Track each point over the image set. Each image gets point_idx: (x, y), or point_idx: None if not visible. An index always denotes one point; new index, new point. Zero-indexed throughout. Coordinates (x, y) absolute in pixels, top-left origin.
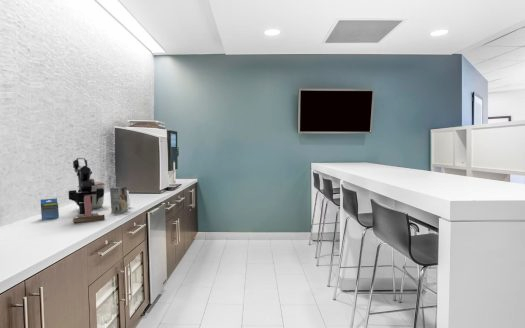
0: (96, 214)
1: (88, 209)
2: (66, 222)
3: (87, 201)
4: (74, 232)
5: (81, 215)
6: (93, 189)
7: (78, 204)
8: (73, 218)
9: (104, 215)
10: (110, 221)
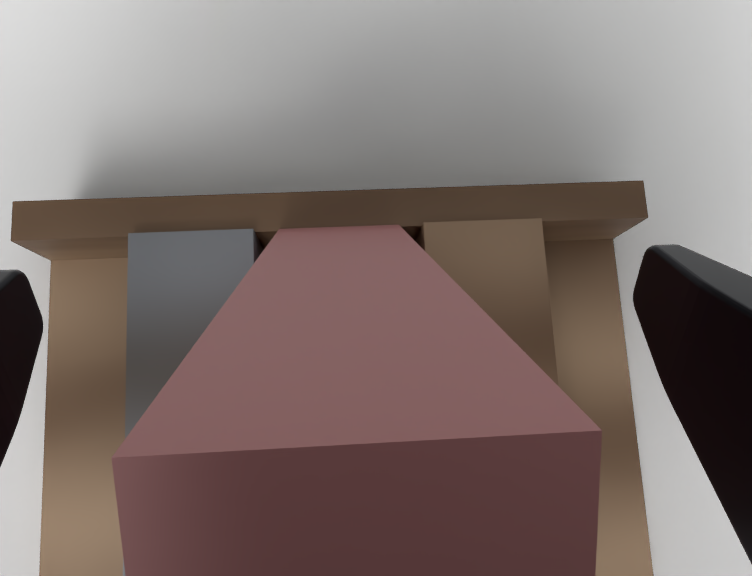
0: (173, 299)
1: (344, 246)
2: None
3: (364, 304)
4: None
5: None
6: None
7: (701, 260)
8: (645, 216)
9: (22, 205)
10: (3, 16)
